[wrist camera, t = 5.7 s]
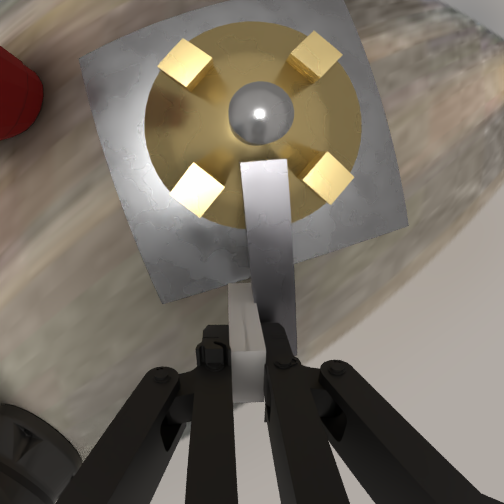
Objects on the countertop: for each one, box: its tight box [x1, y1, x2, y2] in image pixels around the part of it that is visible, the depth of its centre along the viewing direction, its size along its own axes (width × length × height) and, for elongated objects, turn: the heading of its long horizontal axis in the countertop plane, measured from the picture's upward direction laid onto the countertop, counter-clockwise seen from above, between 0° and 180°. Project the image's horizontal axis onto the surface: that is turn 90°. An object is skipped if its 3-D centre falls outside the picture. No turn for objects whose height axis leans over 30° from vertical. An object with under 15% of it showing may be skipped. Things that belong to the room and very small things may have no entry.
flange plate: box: [79, 0, 409, 304], centre depth 20 cm, size 20×20×4 cm
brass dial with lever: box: [144, 21, 362, 356], centre depth 15 cm, size 18×11×6 cm, turn 5°
